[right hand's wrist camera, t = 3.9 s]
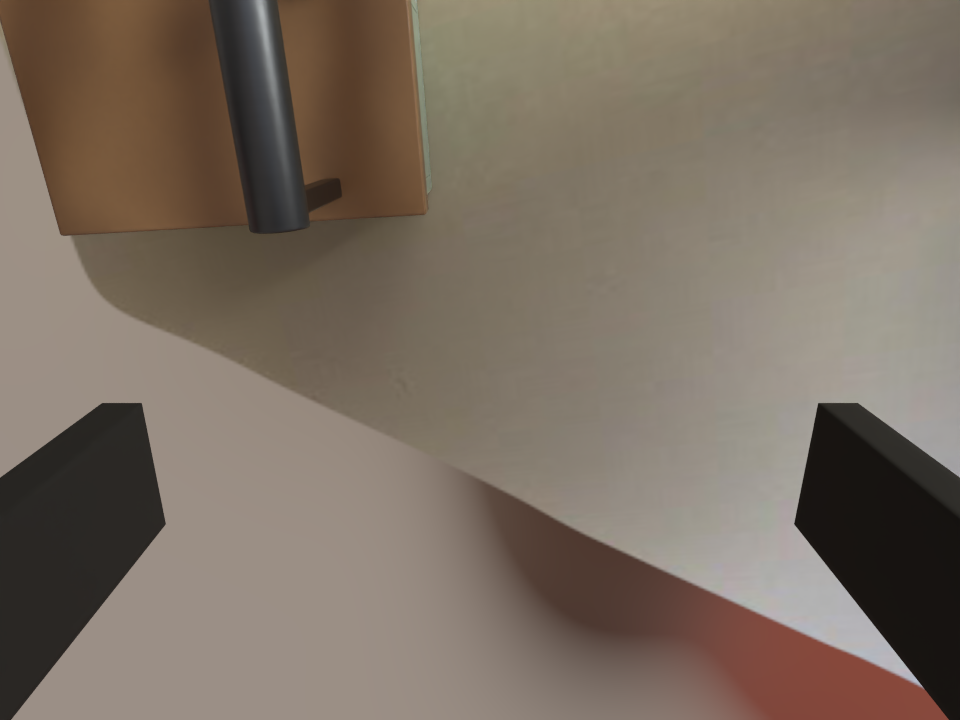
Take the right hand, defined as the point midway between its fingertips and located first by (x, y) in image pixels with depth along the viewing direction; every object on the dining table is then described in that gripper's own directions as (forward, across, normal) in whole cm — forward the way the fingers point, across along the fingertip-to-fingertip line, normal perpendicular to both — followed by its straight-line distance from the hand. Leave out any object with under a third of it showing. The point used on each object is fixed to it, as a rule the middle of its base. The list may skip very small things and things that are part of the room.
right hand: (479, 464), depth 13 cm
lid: (+15, -9, +7) cm, 19 cm away
